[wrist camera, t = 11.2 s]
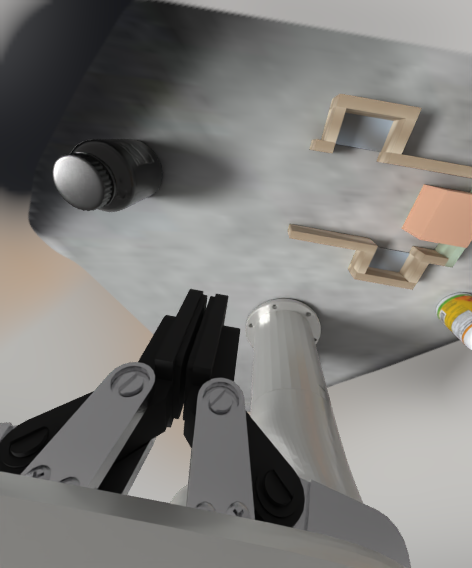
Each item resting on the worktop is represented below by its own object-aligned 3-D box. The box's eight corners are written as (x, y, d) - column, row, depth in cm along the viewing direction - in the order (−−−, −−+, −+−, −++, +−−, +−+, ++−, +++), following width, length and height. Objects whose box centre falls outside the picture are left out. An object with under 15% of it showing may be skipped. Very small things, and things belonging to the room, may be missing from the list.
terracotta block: (442, 235, 32) (466, 248, 28) (401, 228, 32) (419, 239, 29) (468, 192, 30) (499, 199, 26) (423, 184, 30) (447, 190, 26)
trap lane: (422, 282, 36) (434, 293, 33) (280, 257, 36) (281, 265, 33) (517, 131, 26) (545, 129, 24) (323, 97, 26) (330, 91, 24)
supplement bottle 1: (103, 146, 31) (22, 146, 20) (153, 133, 30) (94, 128, 19) (125, 201, 34) (65, 226, 24) (171, 192, 33) (128, 215, 22)
